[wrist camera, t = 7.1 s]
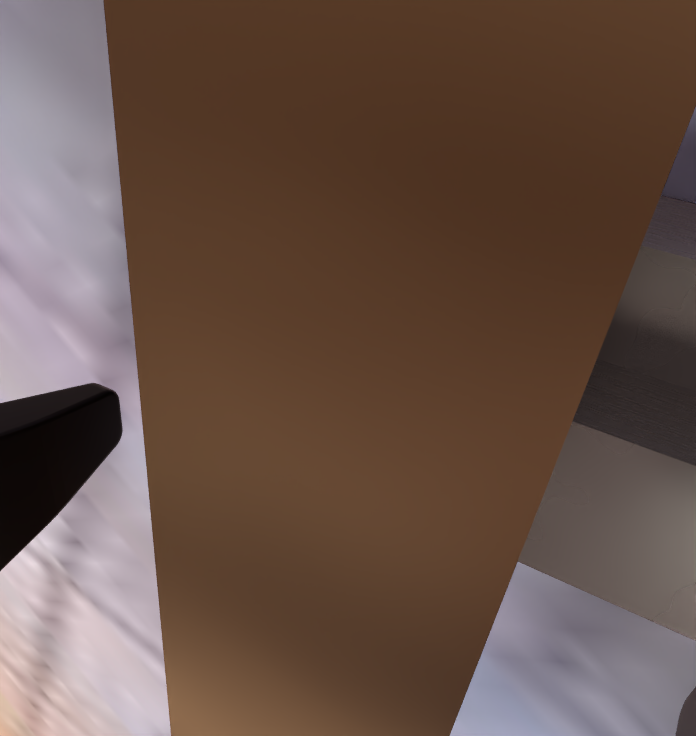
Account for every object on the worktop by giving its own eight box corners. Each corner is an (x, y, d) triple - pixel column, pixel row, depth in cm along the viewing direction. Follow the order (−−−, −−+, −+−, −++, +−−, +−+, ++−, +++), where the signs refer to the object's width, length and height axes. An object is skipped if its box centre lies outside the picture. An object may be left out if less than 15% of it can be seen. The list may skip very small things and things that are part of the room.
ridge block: (833, 236, 11) (894, 374, 7) (670, 522, 15) (652, 712, 11) (317, 113, 14) (164, 161, 10) (296, 375, 18) (179, 480, 14)
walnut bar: (439, 750, 14) (361, 959, 11) (287, 664, 16) (180, 829, 13) (794, -177, 5) (891, -396, 2) (370, -200, 7) (70, -360, 4)
